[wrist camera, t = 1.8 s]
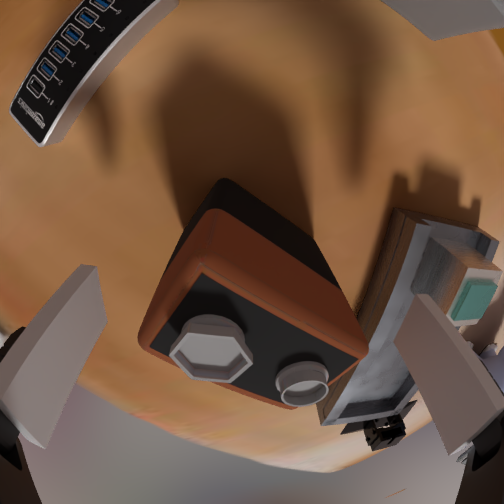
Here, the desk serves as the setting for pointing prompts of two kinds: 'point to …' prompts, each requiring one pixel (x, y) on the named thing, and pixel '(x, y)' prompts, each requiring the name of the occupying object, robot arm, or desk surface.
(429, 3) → the power adapter
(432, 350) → the robot arm
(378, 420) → the black angular piece
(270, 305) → the battery
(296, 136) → the desk surface
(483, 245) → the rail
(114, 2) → the multiport hub
